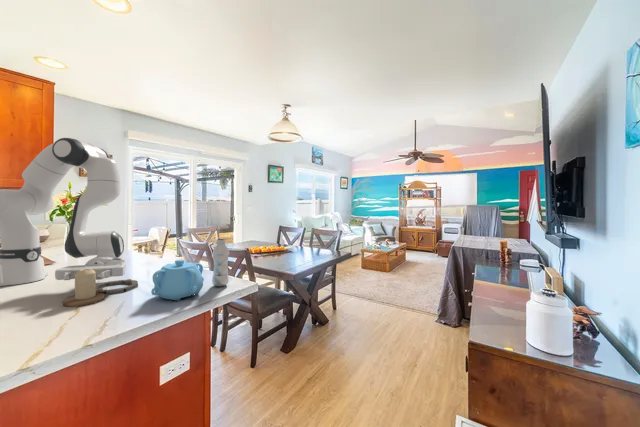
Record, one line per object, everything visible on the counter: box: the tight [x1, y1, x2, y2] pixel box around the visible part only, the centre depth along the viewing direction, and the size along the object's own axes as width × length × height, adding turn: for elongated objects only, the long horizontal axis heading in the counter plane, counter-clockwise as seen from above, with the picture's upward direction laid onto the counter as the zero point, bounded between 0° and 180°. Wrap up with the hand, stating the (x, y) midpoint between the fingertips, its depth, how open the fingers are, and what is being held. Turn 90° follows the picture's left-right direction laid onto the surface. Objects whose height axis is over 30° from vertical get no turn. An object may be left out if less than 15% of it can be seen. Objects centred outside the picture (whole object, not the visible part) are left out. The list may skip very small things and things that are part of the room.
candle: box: [74, 269, 97, 300], centre depth 94 cm, size 6×6×10 cm
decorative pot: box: [150, 259, 204, 301], centre depth 101 cm, size 16×16×14 cm
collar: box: [96, 278, 139, 296], centre depth 107 cm, size 15×15×2 cm
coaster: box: [61, 292, 105, 308], centre depth 93 cm, size 11×11×1 cm
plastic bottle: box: [211, 238, 230, 287], centre depth 113 cm, size 6×7×20 cm
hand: (83, 276), depth 93 cm, fingers open, 8 cm apart
